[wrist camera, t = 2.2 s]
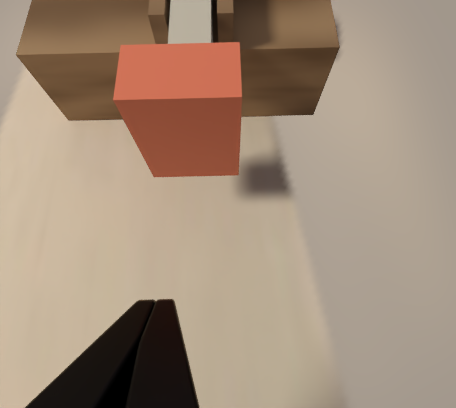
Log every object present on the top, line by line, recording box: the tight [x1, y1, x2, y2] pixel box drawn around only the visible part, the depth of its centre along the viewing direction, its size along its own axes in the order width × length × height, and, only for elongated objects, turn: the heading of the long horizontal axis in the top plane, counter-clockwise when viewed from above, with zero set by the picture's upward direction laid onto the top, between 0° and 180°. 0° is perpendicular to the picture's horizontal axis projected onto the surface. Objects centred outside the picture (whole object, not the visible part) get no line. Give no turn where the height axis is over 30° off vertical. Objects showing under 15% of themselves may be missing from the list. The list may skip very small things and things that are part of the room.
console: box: [16, 0, 339, 120], centre depth 21 cm, size 8×18×8 cm, turn 91°
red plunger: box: [113, 0, 242, 177], centre depth 16 cm, size 13×4×6 cm, turn 1°
